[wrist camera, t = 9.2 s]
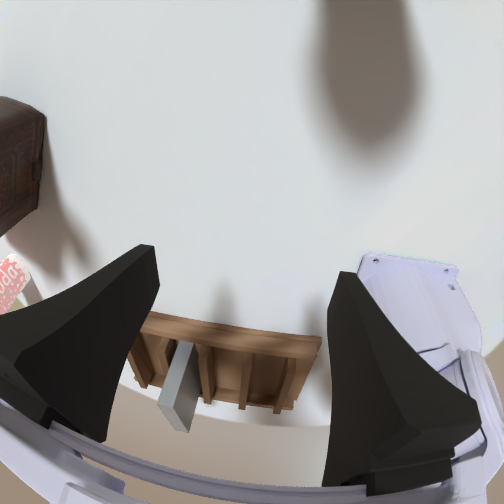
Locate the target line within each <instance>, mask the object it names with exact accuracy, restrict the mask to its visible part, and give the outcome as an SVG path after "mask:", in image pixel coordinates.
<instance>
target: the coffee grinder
mask: <svg viewBox="0 0 504 504" xmlns="http://www.w3.org/2000/svg"><path fill="white" fill-rule="evenodd" d="M43 126H44V114H43V113H41V112H39V111H38V110H36V109H35V108H33V107H32V106H30V105H27V104H25V103H22V102H19V101H17V100H14V99H11V98H8V97H4V96H0V237H1V236H3V235H4V234H5V233H6V232H7V231H8V230H10V229H11V228H12V227H13V226H14V225H15V224H17V223H18V222H19V221H20V220H22V219H23V218H24V217H25V216H26V215H28V214H29V213H30V212H32V211H33V210H36V209H37V207H38V192H39V183H40V175H41V166H42V144H43Z"/></svg>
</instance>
